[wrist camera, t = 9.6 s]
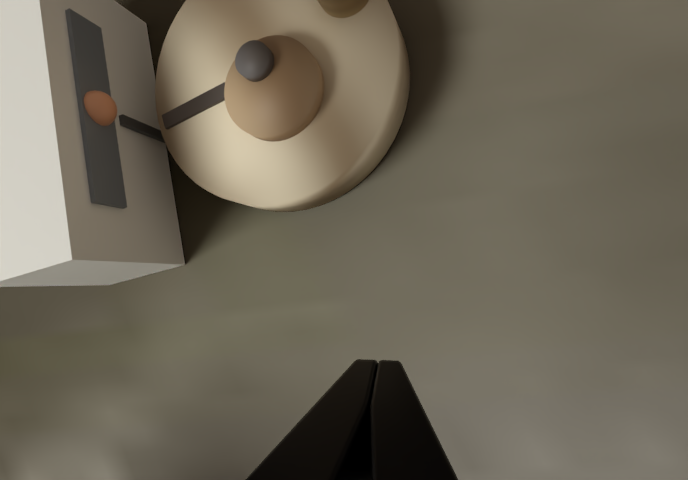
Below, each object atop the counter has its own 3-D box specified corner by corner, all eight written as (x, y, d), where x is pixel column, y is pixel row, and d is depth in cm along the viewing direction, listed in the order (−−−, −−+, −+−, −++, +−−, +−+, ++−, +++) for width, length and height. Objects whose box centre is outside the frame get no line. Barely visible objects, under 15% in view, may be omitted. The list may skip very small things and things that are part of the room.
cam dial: (271, 262, 24) (71, 248, 13) (150, 94, 27) (-94, -32, 16) (465, 87, 21) (422, -112, 10) (307, -75, 24) (147, -357, 14)
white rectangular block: (200, 260, 25) (92, 253, 19) (110, 284, 27) (-20, 287, 20) (160, 16, 27) (49, -68, 21) (78, 54, 29) (-49, -13, 22)
